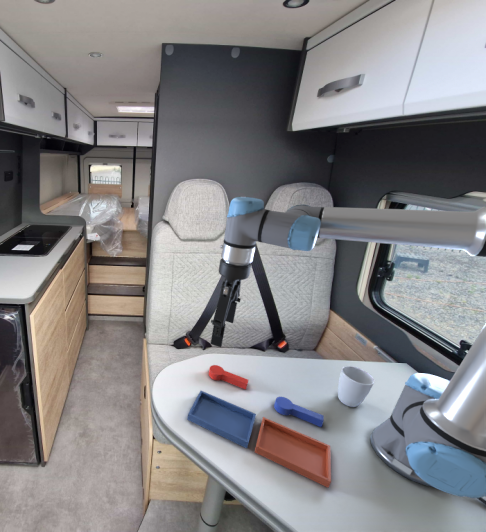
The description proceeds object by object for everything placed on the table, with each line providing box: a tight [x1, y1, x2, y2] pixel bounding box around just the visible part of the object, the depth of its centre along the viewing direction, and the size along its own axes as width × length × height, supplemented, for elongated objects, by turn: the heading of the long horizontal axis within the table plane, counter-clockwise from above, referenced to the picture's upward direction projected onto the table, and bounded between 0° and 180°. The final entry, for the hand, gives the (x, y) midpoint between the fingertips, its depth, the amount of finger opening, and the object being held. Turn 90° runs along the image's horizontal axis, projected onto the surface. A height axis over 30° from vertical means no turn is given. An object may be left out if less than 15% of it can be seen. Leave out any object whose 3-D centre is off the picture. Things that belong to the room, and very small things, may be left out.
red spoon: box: [208, 364, 249, 390], centre depth 101 cm, size 12×5×2 cm, turn 59°
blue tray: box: [186, 390, 257, 449], centre depth 86 cm, size 16×11×2 cm, turn 59°
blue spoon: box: [273, 396, 325, 428], centre depth 89 cm, size 12×5×2 cm, turn 59°
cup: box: [337, 365, 376, 408], centre depth 93 cm, size 8×8×10 cm
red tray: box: [254, 416, 332, 489], centre depth 78 cm, size 16×11×2 cm, turn 59°
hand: (222, 332), depth 85 cm, fingers open, 13 cm apart
